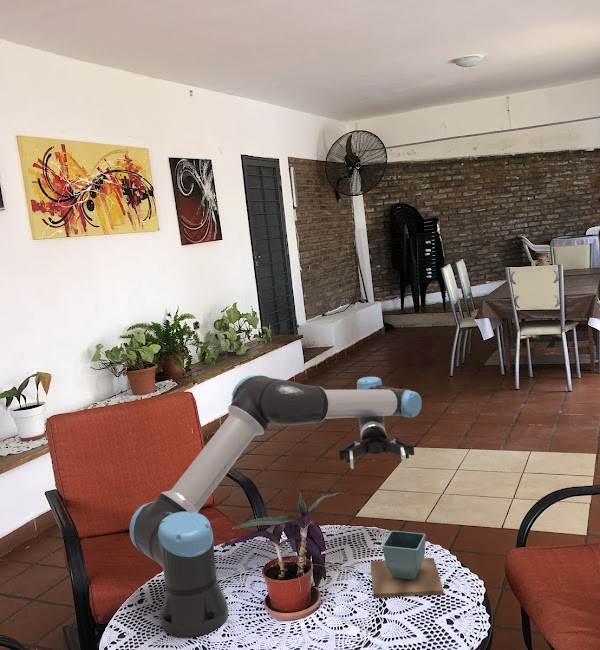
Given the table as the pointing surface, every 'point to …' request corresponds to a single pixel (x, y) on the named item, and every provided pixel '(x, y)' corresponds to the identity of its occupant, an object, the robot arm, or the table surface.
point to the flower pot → (404, 553)
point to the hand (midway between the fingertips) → (378, 462)
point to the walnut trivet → (406, 581)
